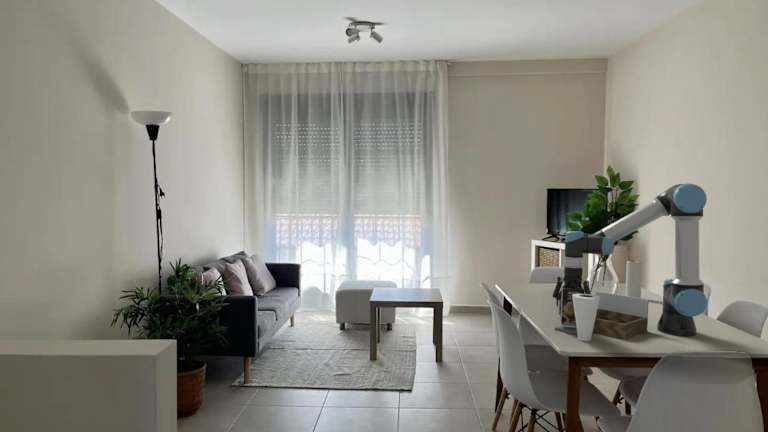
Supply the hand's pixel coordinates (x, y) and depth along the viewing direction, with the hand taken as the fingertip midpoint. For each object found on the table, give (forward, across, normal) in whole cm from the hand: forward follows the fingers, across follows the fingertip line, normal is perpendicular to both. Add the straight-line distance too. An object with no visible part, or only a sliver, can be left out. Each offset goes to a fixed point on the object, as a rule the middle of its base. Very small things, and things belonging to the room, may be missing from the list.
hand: (571, 316), depth 234 cm
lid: (0, -9, -26) cm, 28 cm away
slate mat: (+6, 0, 0) cm, 6 cm away
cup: (+6, -11, +9) cm, 16 cm away
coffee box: (+4, 0, 0) cm, 4 cm away
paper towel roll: (+6, +19, -97) cm, 99 cm away
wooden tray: (+6, -9, -16) cm, 19 cm away
